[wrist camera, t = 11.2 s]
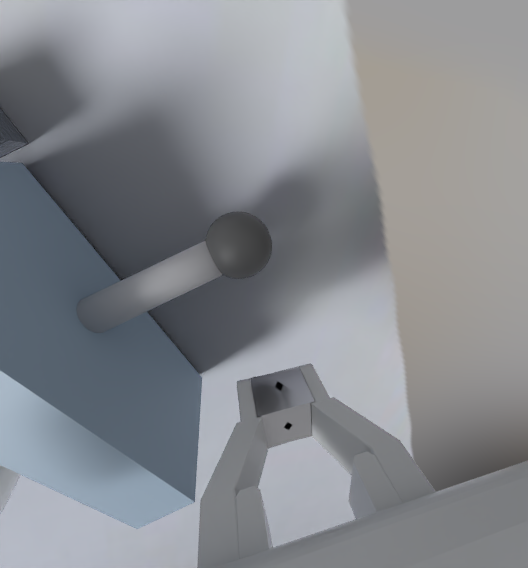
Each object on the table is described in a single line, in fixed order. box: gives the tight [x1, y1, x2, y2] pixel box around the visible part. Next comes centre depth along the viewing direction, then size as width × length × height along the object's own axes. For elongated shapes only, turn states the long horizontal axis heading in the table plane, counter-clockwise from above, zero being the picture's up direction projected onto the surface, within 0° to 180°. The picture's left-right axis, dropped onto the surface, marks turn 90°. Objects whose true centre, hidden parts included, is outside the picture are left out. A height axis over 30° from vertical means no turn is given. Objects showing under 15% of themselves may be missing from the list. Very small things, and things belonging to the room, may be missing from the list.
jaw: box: [0, 162, 272, 529], centre depth 9 cm, size 13×10×6 cm
